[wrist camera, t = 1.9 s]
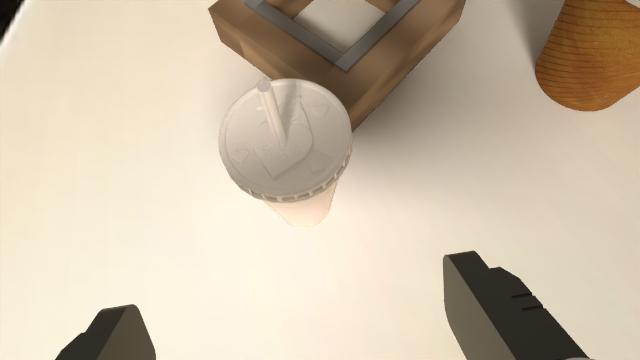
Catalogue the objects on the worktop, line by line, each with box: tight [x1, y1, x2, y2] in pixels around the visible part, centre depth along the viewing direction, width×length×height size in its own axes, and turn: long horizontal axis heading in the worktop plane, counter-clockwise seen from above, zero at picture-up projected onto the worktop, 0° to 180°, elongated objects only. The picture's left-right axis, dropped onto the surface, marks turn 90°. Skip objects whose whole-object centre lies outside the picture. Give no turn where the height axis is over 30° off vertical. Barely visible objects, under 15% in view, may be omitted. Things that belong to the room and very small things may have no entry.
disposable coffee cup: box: [536, 0, 640, 111], centre depth 25 cm, size 10×10×12 cm
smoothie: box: [218, 79, 352, 228], centre depth 21 cm, size 6×6×14 cm
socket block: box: [208, 0, 466, 132], centre depth 32 cm, size 14×14×4 cm
